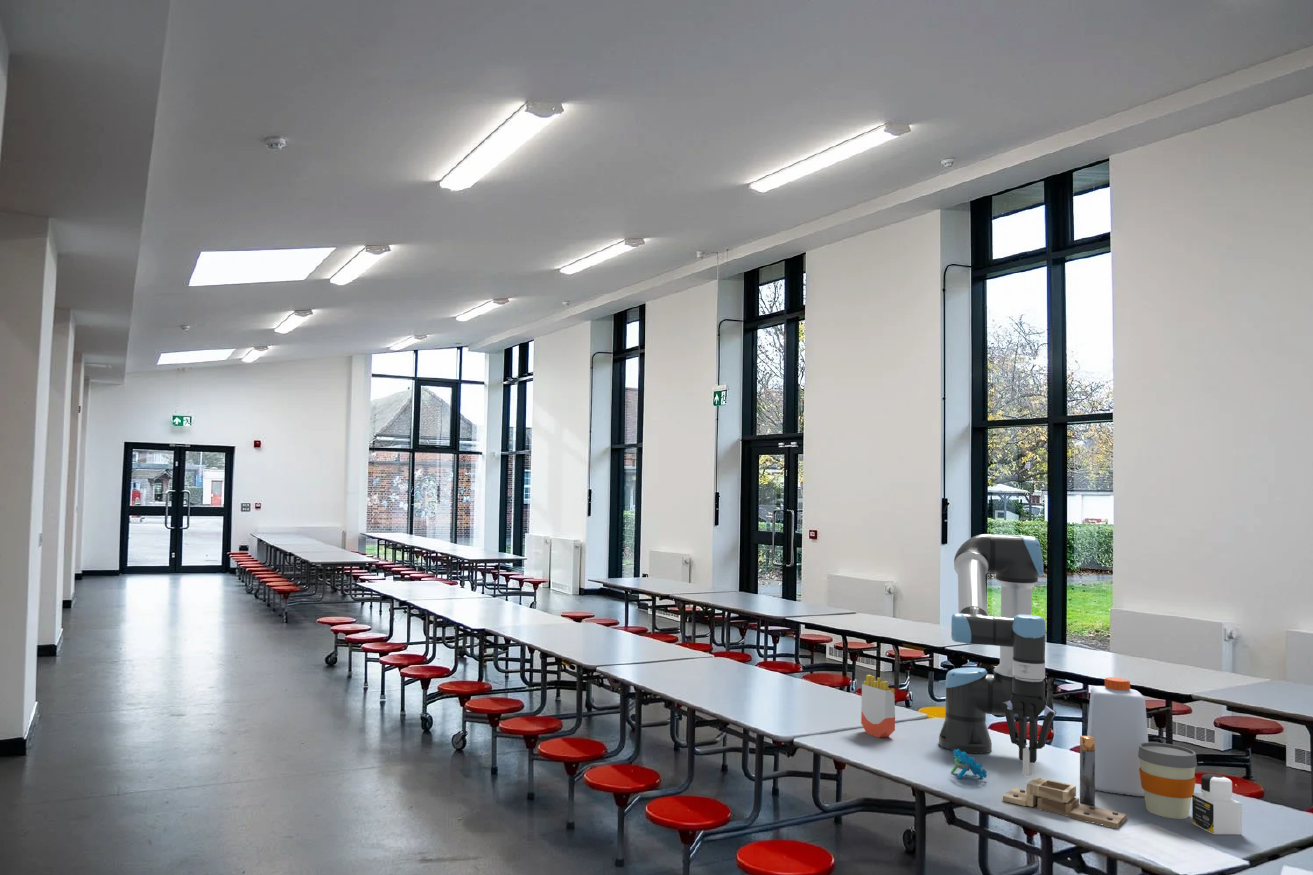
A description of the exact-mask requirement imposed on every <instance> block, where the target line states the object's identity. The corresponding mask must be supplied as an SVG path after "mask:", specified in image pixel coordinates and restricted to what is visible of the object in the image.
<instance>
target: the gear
mask: <svg viewBox="0 0 1313 875" xmlns="http://www.w3.org/2000/svg"><path fill="white" fill-rule="evenodd" d="M952 753H953V757H954V759H953V760H954V767H953V769H952V770H951V771H950V773H951V774H952V773H953V774H954V773H955V772H956V771H957V770H958V769H960V772H959V773H958V775H957V778H958V779H960V780H961V779H962V778H963V777H964V776H965V774H966V772H967V771H968V772H969V771H971V773H972V774H973V775H974V776H978V777H979V778H981V779H983V778H984V779H986V778H987V776H988V775H987V771H986V770H985V769H984V768H982V767H983V766H982V765H981V763H979V762H977V763H976V761H975V760H976V759H975V758H974V757H972V756H969V754H968V753H966V752H961V750H959V749H957V750H956V749H955V750H952Z"/></svg>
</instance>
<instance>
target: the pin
mask: <svg viewBox="0 0 1313 875" xmlns="http://www.w3.org/2000/svg"><path fill="white" fill-rule="evenodd" d="M1079 804H1084V805H1089V806H1093V807H1095V805H1096V790H1095V738H1094V737H1090V736H1087V735H1080V736H1079Z"/></svg>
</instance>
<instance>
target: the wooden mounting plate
mask: <svg viewBox="0 0 1313 875" xmlns="http://www.w3.org/2000/svg"><path fill="white" fill-rule="evenodd" d="M1040 809H1041V810H1040ZM1037 810H1040V811H1044V810H1046V811H1045V812H1050V813H1054V814H1057V815H1061V816H1065V815H1067V816H1066V817H1070V819H1073V818H1074V820H1078V821H1082V822H1086V823H1090V822H1094V823H1098V824H1097V825H1099V824H1103V825H1106V826H1105V827H1107V826H1109V827H1108V828H1111V827H1113V829H1115V828H1117V829H1119V828H1120V827H1121V826H1122V825H1123V824H1124V823H1125V821H1127V819H1128V817H1127V816H1128V814H1127V813H1124V812H1123V813H1122V812H1118V811H1114V810H1110V809H1106V808H1102V807H1097V806H1089V805H1084V804H1081V803H1080V797H1077V796H1075V797H1074V798H1073V799H1071V800H1070V801H1069V802H1068V803H1066V802H1061V801H1057V800H1052V799H1048V798H1044V797H1038V803H1037ZM1094 823H1093V824H1094ZM1103 825H1102V826H1103ZM1117 829H1116V830H1117Z"/></svg>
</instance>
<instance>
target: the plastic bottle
mask: <svg viewBox="0 0 1313 875" xmlns="http://www.w3.org/2000/svg"><path fill="white" fill-rule="evenodd" d="M1089 697H1090V698H1089V706H1088V720H1087V721H1088V722H1087V731H1086V733H1087V734H1086V736H1090V737H1094V738H1095V791H1098V792H1102V791H1103V792H1102V793H1108V792H1109V794H1116V793H1117V795H1123V794H1126V796H1130V795H1132V796H1131V797H1140V796H1141V797H1145V795H1144V789H1143V788H1142V786H1141V779H1140V771H1139V768H1140V767H1141V765H1140V758H1139V757H1138V751H1139V744H1141V743H1149V734H1148V732H1149V731H1148V720H1147V709H1146V708H1147V707H1146V706H1147V705H1146V698H1145V697H1144V696H1143V694H1142V693H1141V692H1139V691H1138V690H1136V689H1134V688H1133V689H1132V688H1131V681H1130V680H1128V679H1126V678H1121V677H1105V678H1104V685H1094V686H1092V687H1091V689H1090V694H1089Z"/></svg>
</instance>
